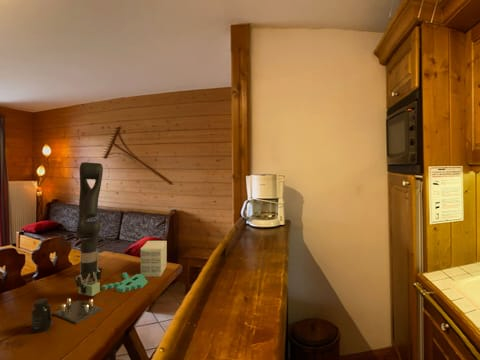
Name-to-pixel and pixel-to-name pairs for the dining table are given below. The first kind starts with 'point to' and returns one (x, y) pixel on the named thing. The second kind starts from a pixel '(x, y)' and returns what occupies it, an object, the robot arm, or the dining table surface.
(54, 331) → the dining table surface
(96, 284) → the block
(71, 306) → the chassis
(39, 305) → the supplement bottle
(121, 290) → the alien figure
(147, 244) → the supplement box
